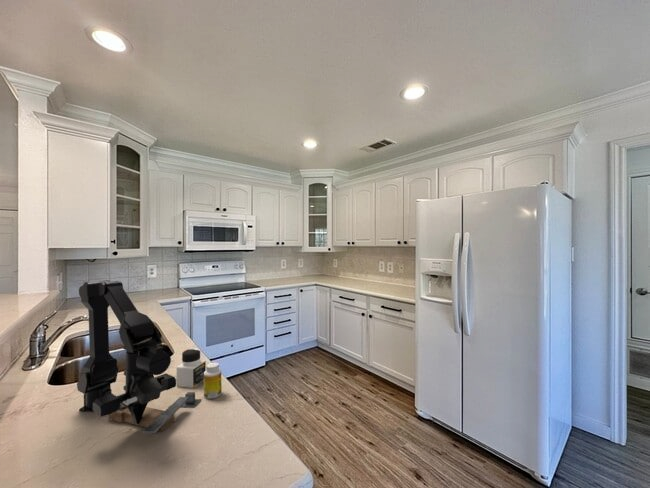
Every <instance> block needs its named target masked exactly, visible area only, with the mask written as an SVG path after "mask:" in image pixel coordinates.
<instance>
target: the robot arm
mask: <svg viewBox="0 0 650 488" xmlns="http://www.w3.org/2000/svg"><path fill="white" fill-rule="evenodd" d="M78 295H79V297H80V300H81V301H80V302H81V303H82V304H83V306H84V307H85V308H86V309H87V310H88V331H89V333H88V338H89V339H88V340H89V357H88V359H87V360H86V361H85V363H84V365H83V368H82V369H83V371H82V374H81V376H80V378H79V379H78V381H77V383H76V388H77V392H79V393H81V394H83V406H82V407H81V408H79V409H78V411H79V412H94V413H96V414H97V416H99V417H100V418H101V417H106V416H109V414H111V413H113V412H116V411H117V410H118V409H119V408H120V404H121V405H123V406H124V407H126V408H128V409H129V411H130V413H131V415H132V417H133V419H134V421H135V423H136V424H139V423H140V421H141V418H142V415H143V413H144V410H145V408H146V407H148V404H149V402H152V401H154V400H158V399H159V398H161V397H160V396H161V393H162V392H165V391H169V390H171V389H174V388H176V387H177V377H175V376H173V375H172V374H168V373H165V372H166V371H167V370H168V369H169V367H170V366H171V361H172V357H171V355H170V354H169V353H168V352H167V351H164V347H163V346H159V345H162V343H163V341H162V339H161V338H162V336H161V334H160V332H159V331H158V329H157V327H156V324H155V323H154V322H153V320H152V319H151V318H150V317H149V316H148V315H147V314H144V313H141V312H140V311H138V309H137V308H136V306H135V304H134V302H133V301H132V299H131V298H130V297H129V295H128V294H127V292H126V290H125V289H124V284H123V282H122V281H119V280H114V281H113V280H112V281H111V280H109V279H105V280H104V279H103V280H94V281H84V283H83V284H82V285H81V286H80V287H79V288H78ZM109 307H110V308H111V310H112V312H113V314H114V315H115V317H116V319H117V320H118V322H119V324H120V326H119V330H118V333H119V337H120V338H119V339H120V341H121V342H122V344H123V345H124V346H123V347H122V349H123V350H125V351H126V353H125V354H126V355H125V370H124V371H123V375H124V376H125V384H124V386H123V391H124V393H122V394H119V395H115V394H114V393H112V389H111V388H112V387H111V384H114V383H116V382H117V379H118V373H119V366H118V360H117V359H116V357H115V358H114V357H113V356H112V354H111V353H110V337H109V336H110V334H109V310H108V309H109ZM136 424H135V425H136Z"/></svg>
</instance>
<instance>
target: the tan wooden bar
mask: <svg viewBox="0 0 650 488" xmlns="http://www.w3.org/2000/svg"><path fill="white" fill-rule="evenodd" d="M164 411H165V410H162V409H158V408H153V407H149V406H146V408H145V410H144V413H143V415H142V418H141V421H140V423H139V424H136V423H135V421H134V419H133V417H132V415H131V413H130V411H129V409H128V408H126V409H125V410H123V411H121V410H120V408H119V409H118V410H117V411H116V412H113V413H111V414H109V415H108V420H109V421H110V420H111V421H114V422H118V423H124V422H126V423H127V424H133V425H138V426H140V427H145V428H147V427H148V426H149V425H150V424H151V423H153V422H154V421H155V420H156V419H157V418H158V417H159V416H160V415H161V414H162V413H163V412H164ZM174 423H175V413H174V414H173V415H172V416H171V417H170V418H169V419H168V420H167V421H166V422H165V423H164V424H163V425H162V426H161V427H160V428H159V429H158V430H157V431H160V432H163V431H164V430H165V429H167V428H168V427H170V426H171V425H173V424H174Z"/></svg>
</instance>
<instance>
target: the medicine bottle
mask: <svg viewBox="0 0 650 488" xmlns="http://www.w3.org/2000/svg"><path fill="white" fill-rule="evenodd" d="M181 356H182V357H181V360H182V361H181V362H182V363H180V364H179V365H178V366H176V387H180V388H191V389H194V388H196V387H197V386H199V384H200V383H203V382H204V372H205V371H206V366H207V364H206V363H207V362H206V360H205V359H201V350H200V349H199V348H196V347H195V348H188V349H185V350H184V351H182V354H181Z"/></svg>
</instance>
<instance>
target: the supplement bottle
mask: <svg viewBox="0 0 650 488" xmlns="http://www.w3.org/2000/svg"><path fill="white" fill-rule="evenodd" d="M222 391H223V390H222V369H221V368H220V364H219V363H218V362H211V363H208V364H206V371H205V372H204V380H203V396H204V398H205V399H208V400H211V399H216V398H218V397H220V395H221V394H222Z"/></svg>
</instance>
